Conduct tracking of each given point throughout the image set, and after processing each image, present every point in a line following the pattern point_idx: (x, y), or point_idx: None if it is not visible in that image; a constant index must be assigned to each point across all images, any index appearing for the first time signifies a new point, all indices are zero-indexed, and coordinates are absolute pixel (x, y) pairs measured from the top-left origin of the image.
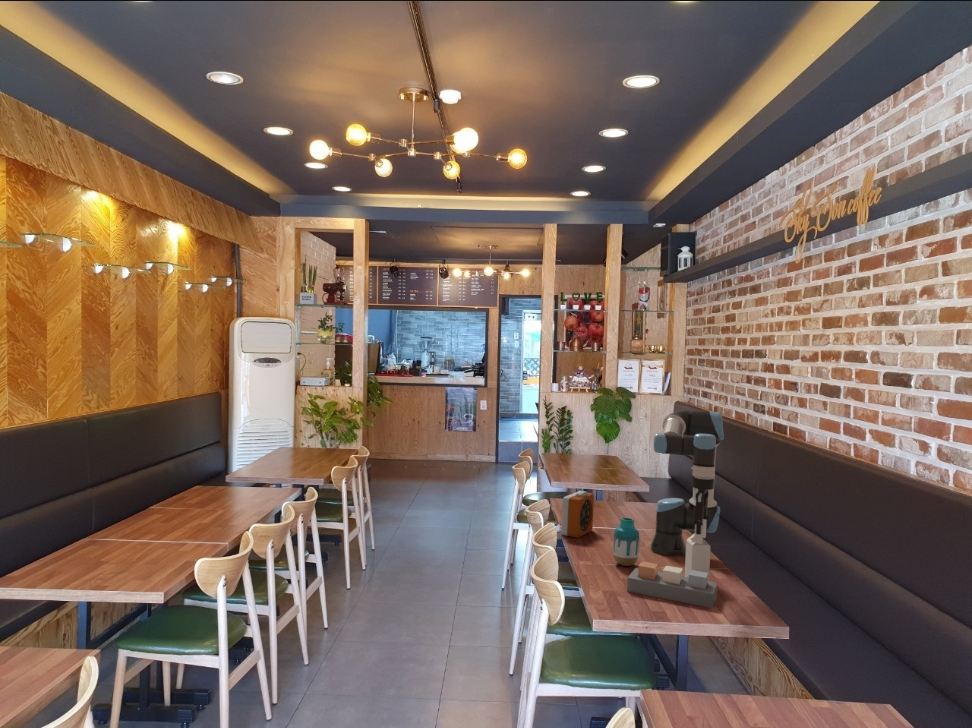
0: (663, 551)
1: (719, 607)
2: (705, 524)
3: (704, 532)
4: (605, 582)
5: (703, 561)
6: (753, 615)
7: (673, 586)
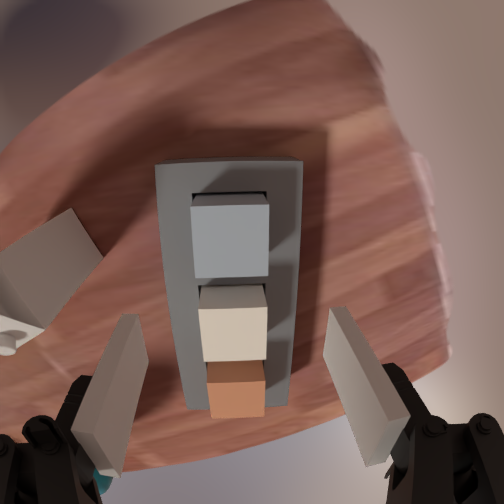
0: None
1: (273, 136)
2: (108, 398)
3: (128, 347)
4: (248, 421)
5: (46, 253)
6: (284, 36)
7: (296, 297)
